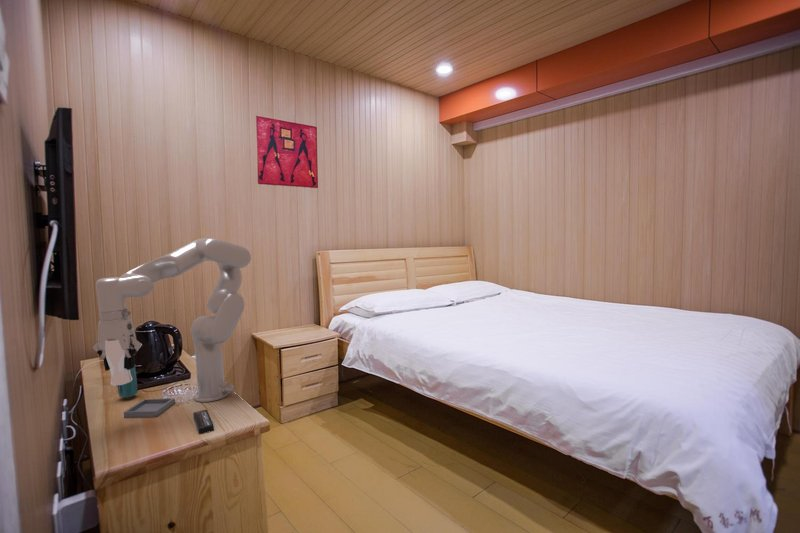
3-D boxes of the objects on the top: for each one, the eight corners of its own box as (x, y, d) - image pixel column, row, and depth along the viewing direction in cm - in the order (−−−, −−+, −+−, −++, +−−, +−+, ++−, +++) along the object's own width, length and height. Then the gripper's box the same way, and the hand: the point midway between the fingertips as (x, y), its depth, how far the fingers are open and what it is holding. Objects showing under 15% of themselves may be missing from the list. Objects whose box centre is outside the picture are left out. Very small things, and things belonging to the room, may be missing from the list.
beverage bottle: (142, 394, 168) (137, 345, 166) (130, 401, 161) (125, 350, 159) (127, 394, 168) (122, 346, 167) (114, 401, 162) (109, 350, 160)
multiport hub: (199, 435, 133) (198, 428, 133) (193, 418, 145) (193, 412, 145) (214, 431, 135) (213, 424, 135) (207, 415, 148) (206, 409, 147)
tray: (175, 403, 158) (174, 398, 158) (156, 416, 147) (156, 411, 147) (144, 404, 158) (144, 398, 158) (124, 417, 147) (123, 412, 147)
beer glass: (116, 379, 142) (111, 335, 140) (138, 377, 143) (133, 334, 141) (104, 387, 135) (98, 341, 133) (126, 385, 136) (121, 340, 134)
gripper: (147, 311, 140) (152, 364, 142) (95, 314, 140) (102, 366, 142) (132, 316, 133) (138, 371, 134) (78, 319, 133) (85, 374, 135)
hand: (120, 368), depth 138 cm, fingers closed on beer glass, 6 cm apart
